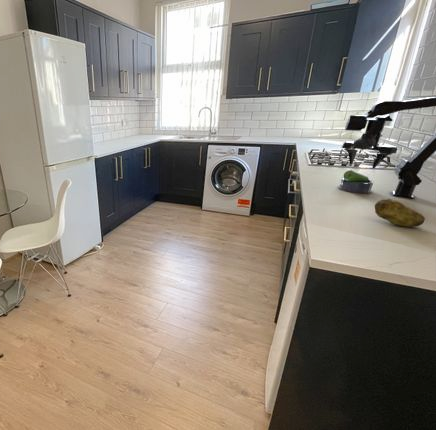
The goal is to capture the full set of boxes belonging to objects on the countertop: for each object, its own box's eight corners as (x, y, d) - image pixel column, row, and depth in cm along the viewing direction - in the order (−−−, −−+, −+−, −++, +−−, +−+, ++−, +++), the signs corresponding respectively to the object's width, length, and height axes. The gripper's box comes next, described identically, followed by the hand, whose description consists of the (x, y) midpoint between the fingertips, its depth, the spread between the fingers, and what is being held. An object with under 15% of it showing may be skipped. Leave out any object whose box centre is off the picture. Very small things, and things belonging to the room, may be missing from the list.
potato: (418, 232, 90) (428, 209, 87) (367, 220, 100) (375, 199, 97) (422, 226, 95) (432, 204, 92) (373, 215, 104) (381, 194, 101)
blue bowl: (340, 185, 142) (343, 175, 140) (370, 189, 135) (373, 179, 133) (337, 190, 134) (341, 180, 132) (369, 195, 127) (373, 184, 125)
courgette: (357, 176, 137) (342, 170, 130) (368, 174, 133) (353, 169, 126) (357, 185, 136) (342, 180, 130) (368, 184, 132) (353, 178, 126)
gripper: (339, 130, 129) (329, 163, 135) (389, 134, 113) (376, 172, 119) (354, 129, 133) (343, 162, 139) (404, 133, 117) (390, 169, 123)
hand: (361, 166), depth 130 cm, fingers open, 9 cm apart
